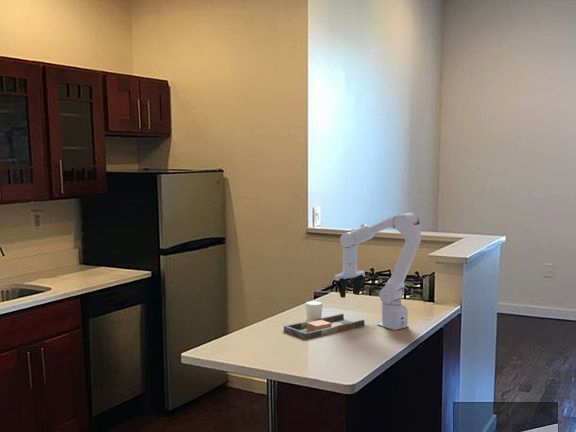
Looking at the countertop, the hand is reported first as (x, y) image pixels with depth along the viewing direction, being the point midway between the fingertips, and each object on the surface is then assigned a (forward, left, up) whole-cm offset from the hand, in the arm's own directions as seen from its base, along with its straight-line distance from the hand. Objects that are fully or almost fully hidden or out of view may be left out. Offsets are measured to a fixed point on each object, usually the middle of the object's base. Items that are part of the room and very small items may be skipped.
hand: (349, 295), depth 243 cm
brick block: (-4, +20, -10) cm, 22 cm away
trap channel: (-4, +16, -9) cm, 19 cm away
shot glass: (+8, +12, -10) cm, 17 cm away
